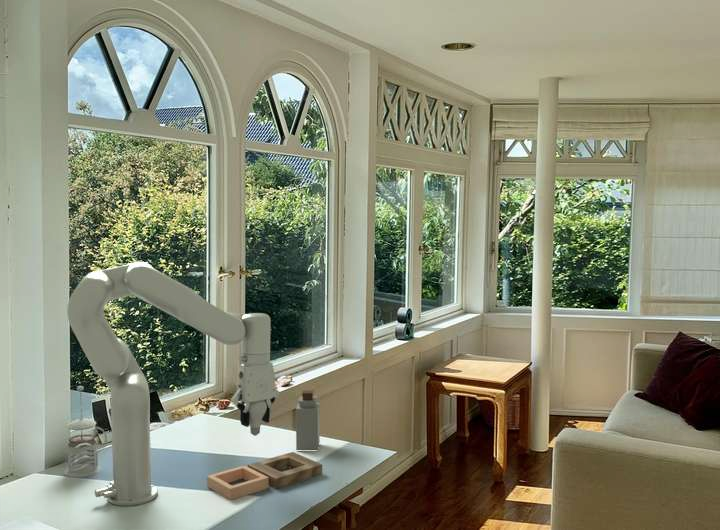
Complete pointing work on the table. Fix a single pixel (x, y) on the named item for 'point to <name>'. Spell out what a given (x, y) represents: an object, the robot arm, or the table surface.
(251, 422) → the lightbulb
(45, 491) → the table surface
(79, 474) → the french press
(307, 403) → the perfume bottle
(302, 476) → the walnut holder
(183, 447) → the table surface
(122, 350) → the robot arm
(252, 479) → the terracotta stand
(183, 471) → the table surface
